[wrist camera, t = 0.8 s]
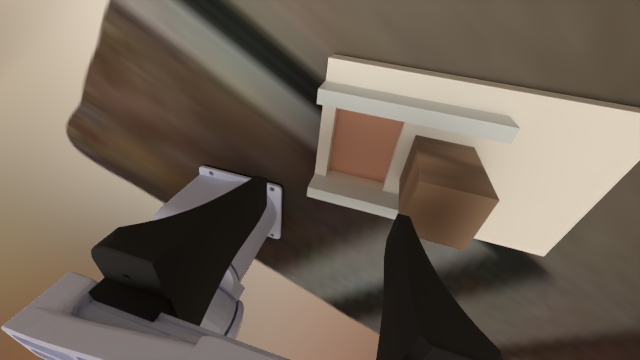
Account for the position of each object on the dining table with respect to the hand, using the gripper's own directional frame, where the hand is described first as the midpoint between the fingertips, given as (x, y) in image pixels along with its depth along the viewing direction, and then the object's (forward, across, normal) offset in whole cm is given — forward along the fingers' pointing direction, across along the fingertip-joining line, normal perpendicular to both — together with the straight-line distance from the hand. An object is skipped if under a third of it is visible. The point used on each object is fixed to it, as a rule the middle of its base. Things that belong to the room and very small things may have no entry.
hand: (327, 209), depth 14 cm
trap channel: (+9, -6, 0) cm, 11 cm away
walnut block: (+8, -6, 0) cm, 10 cm away
